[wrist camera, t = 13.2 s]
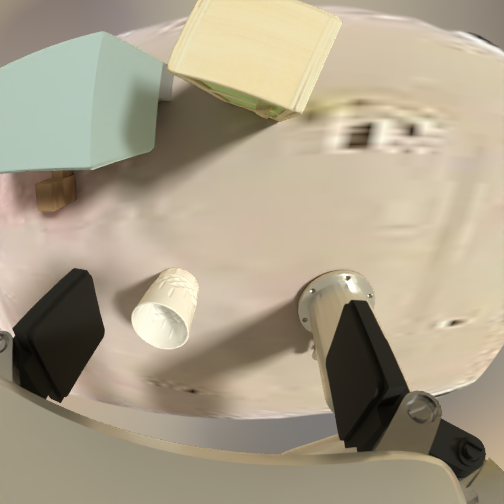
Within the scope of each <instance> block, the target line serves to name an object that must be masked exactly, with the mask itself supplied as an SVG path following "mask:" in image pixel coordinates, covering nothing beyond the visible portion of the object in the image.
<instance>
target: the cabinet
mask: <svg viewBox="0 0 504 504" xmlns="http://www.w3.org/2000/svg"><path fill="white" fill-rule="evenodd" d="M173 76H174V74H172V73H170V72H168V71H167V64H165V63H163V62H162V61H160V60H158V59H156V58H155V57H153V56H151V55H149V54H148V53H146V52H144V51H142V50H140V49H138V48H136V47H135V46H133V45H131V44H129V43H127V42H125V41H123V40H121V39H119V38H117V37H115V36H113V35H111V34H109V33H107V32H104V31H102V32H98V33H93V34H89V35H86V36H82V37H78V38H75V39H72V40H68V41H65V42H62V43H59V44H56V45H53V46H50V47H48V48H45V49H43V50H40V51H37V52H35V53H32V54H30V55H27V56H25V57H23V58H21V59H18V60H16V61H14V62H12V63H10V64H8V65H5V66H3V67H1V68H0V174H4V173H17V172H27V171H29V172H33V171H57V170H94V169H96V168H99V167H102V166H105V165H108V164H111V163H114V162H117V161H121V160H124V159H127V158H130V157H134V156H137V155H141V154H144V153H148V152H151V149H154V148H155V132H156V119H157V108H158V101H171V93H172V84H173Z"/></svg>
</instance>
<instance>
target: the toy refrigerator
mask: <svg viewBox="0 0 504 504" xmlns="http://www.w3.org/2000/svg"><path fill="white" fill-rule="evenodd" d="M341 24H342V21H341V20H340V19H339V18H338V17H336V16H334V15H332V14H330V13H328V12H326V11H324V10H322V9H319V8H317V7H314V6H312V5H309V4H306V3H304V2H300V1H298V0H197V2H196V4H195V6H194V8H193V10H192V12H191V14H190V15H189V17H188V19H187V21H186V23H185V25H184V27H183V30H182V32H181V34H180V36H179V38H178V40H177V42H176V44H175V47H174V49H173V51H172V54H171V56H170V58H169V61H168V64H167V71H168V72H170V73H172V74H174V75H175V76H177V77H179V78H182V79H184V80H185V81H187V82H189V83H191V84H193V85H195V86H197V87H199V88H201V89H202V90H204V91H206V92H208V93H209V94H211V95H213V96H214V97H216V98H218V99H220V100H222V101H224V102H227V103H230V104H233V105H236V106H239V107H242V108H245V109H247V110H250V111H253V112H255V113H256V114H257V115H259V116H260V117H263V118H265V119H268V117H269V118H271V119H274V120H277V121H279V122H281V121H284V120H286V119H290V118H293V117H295V116H299V115H301V114H302V112H303V110H304V108H305V106H306V104H307V102H308V100H309V97H310V95H311V93H312V90H313V88H314V86H315V84H316V81H317V79H318V77H319V74H320V72H321V70H322V68H323V65H324V63H325V61H326V58H327V56H328V54H329V52H330V49H331V47H332V45H333V43H334V40H335V38H336V36H337V33H338V31H339V29H340V27H341Z"/></svg>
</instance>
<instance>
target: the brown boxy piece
mask: <svg viewBox="0 0 504 504" xmlns="http://www.w3.org/2000/svg"><path fill="white" fill-rule="evenodd" d="M35 186H36V197H37V207H38V211H50V212H54V211H56V210H58V209H60V208H61V207H63V206H65V205H67V204H69V203H71V202H73V201H75V200H76V187H75V175H72V170H57V171H52V178H49V179H47V180H44V181H41V182H39V183H37V184H35Z"/></svg>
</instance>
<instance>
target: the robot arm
mask: <svg viewBox="0 0 504 504" xmlns="http://www.w3.org/2000/svg"><path fill="white" fill-rule="evenodd" d="M374 305H375V293H374V290H373V288H372V286H371V284H370V283H369V281H368V280H367V279H366V278H365V277H364V276H362V275H361V274H359V273H356V272H353V271H347V270H338V271H333V272H329V273H326V274H324V275H322V276H320V277H318V278H316V279H315V280H314V281H312V282H311V283H310V284H309V285H308V286H307V287H306V288H305V290H304V291H303V293H302V294H301V297H300V299H299V302H298V315H299V319H300V321H301V323H302V325H303V326H304V328H305V329H306V330H308V331H309V332H310V333H312V334H313V338H314V343H315V349H314V352H313V354H312V358H313V359H314V360H317V361H318V364H319V369H320V375H321V380H322V385H323V391H324V396H325V400H326V403H327V405H328V407H329V408H330V409H331V411H332V412H333V413H334V414H335V418H336V424H337V429H338V434H336V435H334V436H331V437H328V438H325V439H322V440H319V441H316V442H313V443H310V444H307V445H304V446H301V447H297V448H294V449H291V450H288V451H286V452H284V453H282V454H280V455H278V454H256V453H242V452H232V451H223V450H215V449H208V448H202V447H196V446H190V445H184V444H179V443H174V442H169V441H164V440H160V439H156V438H152V437H148V436H144V435H140V434H136V433H133V432H130V431H126V430H123V429H120V428H117V427H113V426H110V425H107V424H104V423H102V422H98V421H96V420H93V419H90V418H88V417H85V416H82V415H80V414H77V413H75V412H73V411H70V410H68V409H65V408H63V407H61V406H59V405H56V404H54V403H52V402H50V401H48V400H46V398H47V396H48V395H49V397H50V398H51V399H53V400H55V401H57V402H59V403H61V402H62V400H63V398H64V397H66V396H68V394H69V393H70V391H71V389H72V388H73V386H74V384H75V382H76V381H77V379H78V377H79V376H80V374H81V372H82V371H83V369H84V367H85V366H86V364H87V362H88V361H89V359H90V358H91V356H92V354H93V353H94V351H95V350H96V348H97V347H98V345H99V343H100V342H101V340H102V339H103V337H104V333H105V329H104V325H103V322H102V318H101V314H100V310H99V306H98V302H97V297H96V293H95V288H94V284H93V279H92V276H91V275H90V274H89V272H88V271H87V270H82V269H76V268H74V269H72V270H71V271H70V272H69V273H68V274H67V275H66V276H65V277H63V278H62V279H61V280H60V281H59V282H58V283H57V284H56V285H55V286H54V287H53V288H52V289H51V290H50V291H49V292H48V293H47V294H45V295H44V296H43V297H42V298H41V299H40V300H39V301H38V302H37V303H36V304H35V305H34V306H33V307H32V308H31V309H30V310H29V311H28V313H27V314H26V315H25V316H24V317H23V318H22V319H21V320H20V321H19V322H18V323H17V324H16V325H15V326H14V327H13V328H12V329H13V331H14V334H15V337H14V338H13V337H12V336H11V334H10V333H8V332H6V331H0V504H504V471H503V470H502V469H501V468H499V466H498V465H497V464H495V462H493V461H492V460H491V459H490V458H488V459H487V460H486V459H485V455H486V453H485V448H484V445H483V444H482V442H481V441H480V440H479V439H478V438H477V437H475V436H473V435H471V434H469V433H467V432H465V431H464V430H462V429H460V428H458V427H456V426H454V425H452V424H450V423H448V422H447V421H445V420H443V419H441V416H442V410H441V406H440V404H439V402H438V400H437V399H436V398H435V397H434V396H432V395H431V394H429V393H427V392H424V391H413V392H412V390H411V388H410V386H409V384H408V382H407V380H406V378H405V376H404V374H403V372H402V369H401V367H400V365H399V363H398V361H397V358H396V356H395V354H394V352H393V350H392V348H391V346H390V343H389V341H388V339H387V337H386V335H385V333H384V331H383V329H382V327H381V325H380V323H379V321H378V319H377V317H376V315H375V313H374V311H373V308H374Z"/></svg>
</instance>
